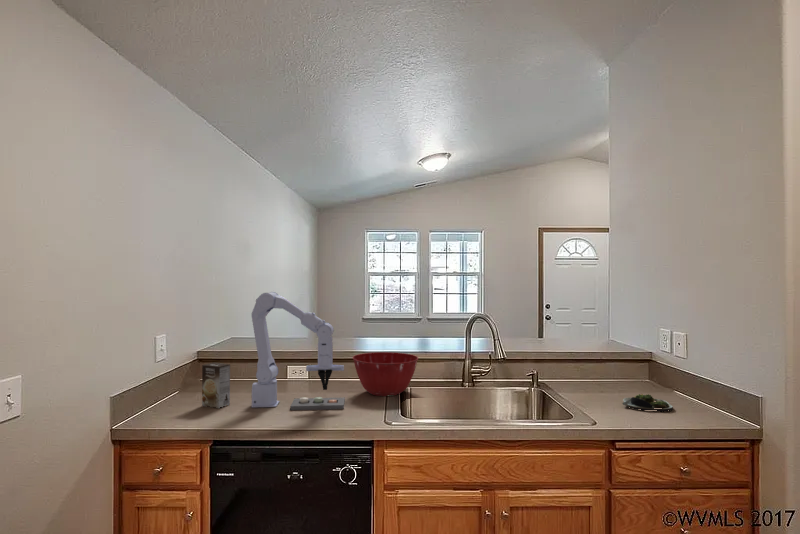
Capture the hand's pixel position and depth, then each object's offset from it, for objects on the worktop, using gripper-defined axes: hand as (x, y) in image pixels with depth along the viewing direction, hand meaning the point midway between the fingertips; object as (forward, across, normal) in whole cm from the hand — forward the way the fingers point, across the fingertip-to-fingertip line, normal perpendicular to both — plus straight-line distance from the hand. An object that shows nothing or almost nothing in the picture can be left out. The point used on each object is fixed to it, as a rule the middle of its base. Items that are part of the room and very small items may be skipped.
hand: (325, 389), depth 202 cm
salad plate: (+6, +123, -12) cm, 124 cm away
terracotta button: (+6, +3, 0) cm, 7 cm away
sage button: (+5, -3, 0) cm, 6 cm away
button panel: (+6, -2, 0) cm, 7 cm away
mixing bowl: (+6, +24, +19) cm, 32 cm away
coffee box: (+7, -42, +4) cm, 43 cm away
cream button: (+5, -8, 0) cm, 9 cm away
